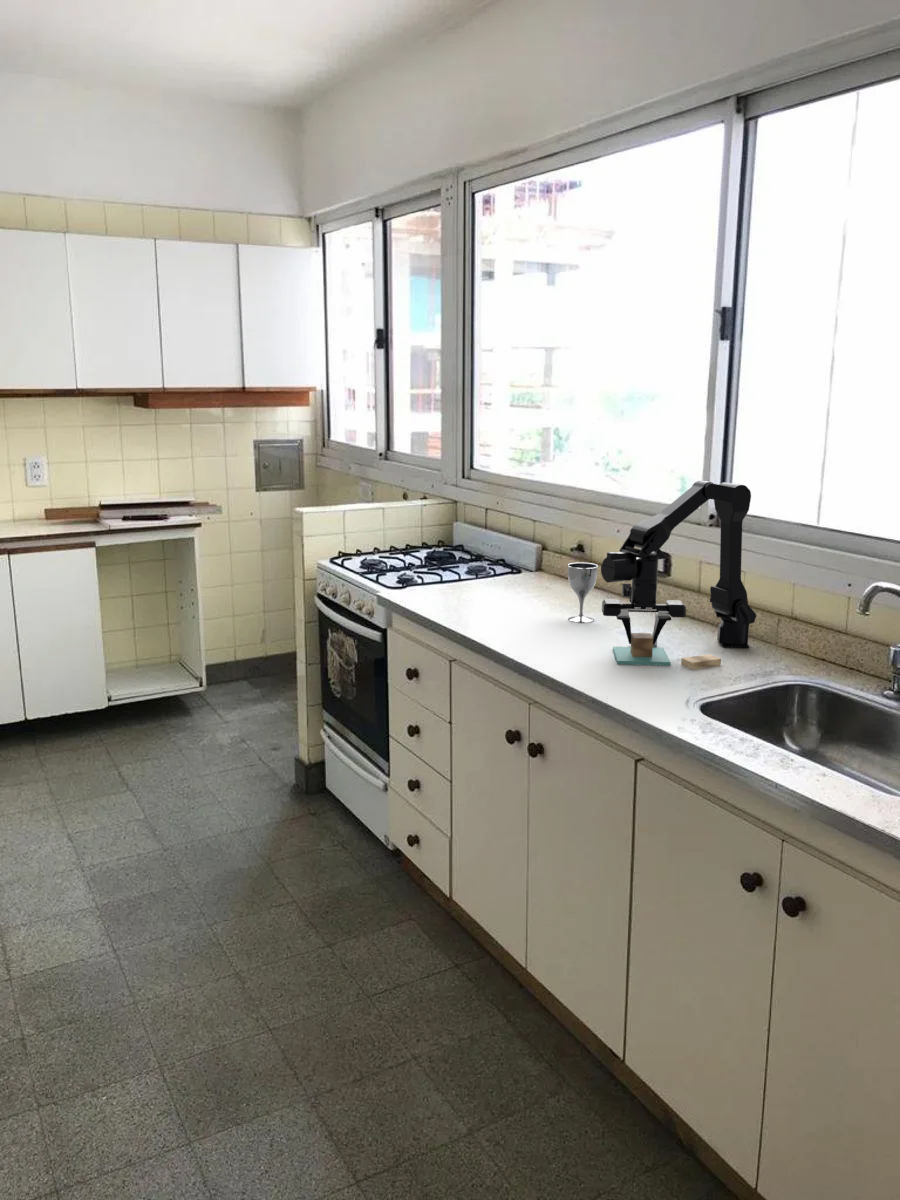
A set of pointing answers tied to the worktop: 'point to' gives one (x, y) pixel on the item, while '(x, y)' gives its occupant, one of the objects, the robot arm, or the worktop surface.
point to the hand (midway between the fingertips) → (641, 643)
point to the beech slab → (701, 661)
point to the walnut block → (641, 644)
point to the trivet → (625, 657)
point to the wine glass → (582, 585)
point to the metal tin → (652, 636)
